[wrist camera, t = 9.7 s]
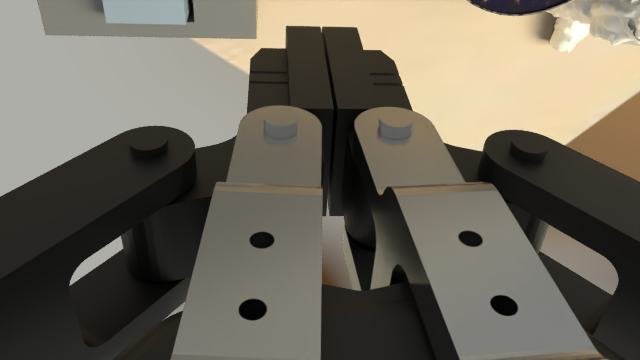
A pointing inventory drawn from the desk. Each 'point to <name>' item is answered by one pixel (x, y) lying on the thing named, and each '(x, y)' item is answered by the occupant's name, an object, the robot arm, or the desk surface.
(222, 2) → the key console
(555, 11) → the sitting furry creature
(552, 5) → the storage jar
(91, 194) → the robot arm
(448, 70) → the desk surface
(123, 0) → the blue-grey block
